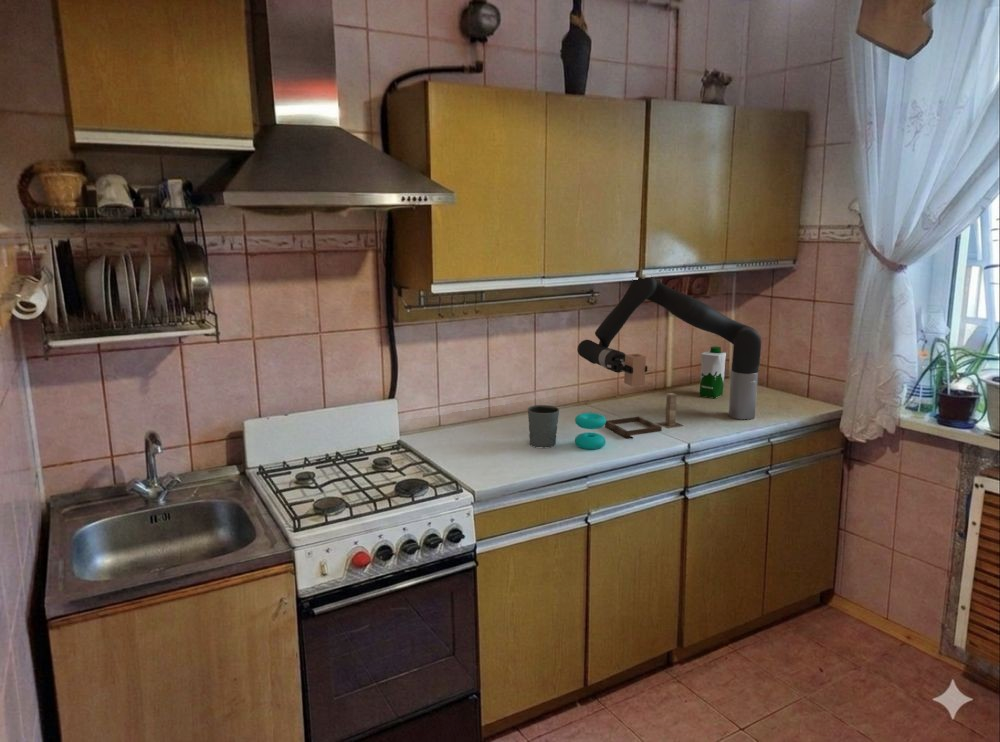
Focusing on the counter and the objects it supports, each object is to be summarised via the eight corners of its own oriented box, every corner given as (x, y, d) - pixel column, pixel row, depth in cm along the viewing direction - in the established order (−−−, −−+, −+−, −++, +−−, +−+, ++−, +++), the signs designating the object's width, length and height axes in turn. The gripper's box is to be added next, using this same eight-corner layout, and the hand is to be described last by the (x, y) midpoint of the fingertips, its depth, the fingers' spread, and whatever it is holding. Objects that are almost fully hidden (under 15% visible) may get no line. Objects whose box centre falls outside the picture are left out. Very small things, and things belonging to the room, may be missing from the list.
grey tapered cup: (522, 442, 231) (521, 407, 228) (546, 437, 236) (546, 403, 233) (539, 450, 222) (540, 414, 220) (564, 445, 228) (565, 409, 225)
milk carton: (725, 395, 288) (728, 347, 284) (716, 399, 281) (719, 351, 277) (705, 391, 294) (708, 345, 289) (696, 396, 287) (698, 348, 282)
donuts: (611, 418, 222) (584, 422, 219) (611, 448, 225) (583, 452, 221) (596, 410, 231) (569, 413, 228) (596, 439, 234) (569, 442, 230)
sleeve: (624, 382, 240) (625, 354, 238) (636, 381, 242) (637, 353, 240) (631, 386, 236) (633, 357, 234) (644, 384, 238) (645, 356, 235)
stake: (655, 425, 248) (657, 392, 245) (672, 423, 250) (673, 390, 248) (667, 431, 242) (669, 397, 239) (684, 428, 244) (686, 395, 242)
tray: (604, 427, 246) (605, 420, 246) (638, 422, 251) (638, 416, 251) (626, 438, 233) (626, 432, 233) (661, 433, 239) (661, 427, 238)
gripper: (596, 351, 247) (621, 360, 232) (630, 348, 253) (657, 357, 237) (595, 371, 249) (620, 382, 234) (629, 368, 254) (656, 378, 239)
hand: (639, 369), depth 235 cm, fingers closed on sleeve, 5 cm apart
